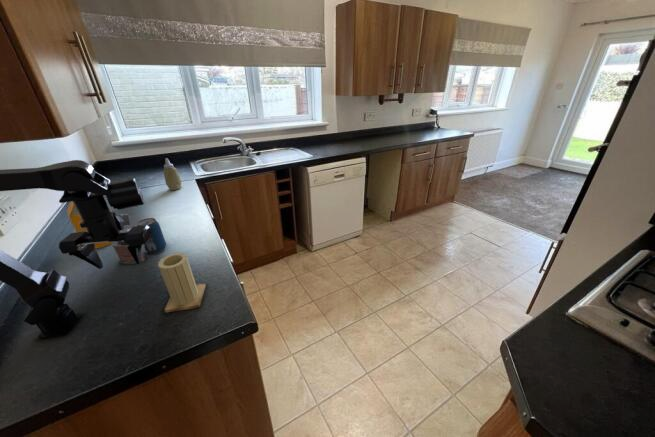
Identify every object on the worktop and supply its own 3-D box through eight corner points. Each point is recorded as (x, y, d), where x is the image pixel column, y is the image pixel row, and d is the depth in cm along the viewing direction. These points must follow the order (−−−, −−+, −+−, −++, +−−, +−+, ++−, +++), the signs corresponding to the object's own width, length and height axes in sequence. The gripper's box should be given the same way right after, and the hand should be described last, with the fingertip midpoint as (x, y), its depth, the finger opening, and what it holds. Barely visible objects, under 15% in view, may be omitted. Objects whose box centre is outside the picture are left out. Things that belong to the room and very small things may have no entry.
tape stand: (165, 312, 74) (159, 299, 72) (175, 290, 82) (170, 277, 80) (199, 307, 76) (195, 294, 73) (206, 285, 83) (202, 273, 81)
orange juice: (107, 235, 112) (86, 190, 102) (111, 243, 106) (89, 197, 97) (84, 243, 107) (59, 196, 98) (86, 251, 101) (60, 203, 92)
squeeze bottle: (182, 189, 156) (173, 159, 148) (167, 192, 154) (157, 161, 145) (183, 185, 163) (175, 155, 154) (168, 187, 160) (159, 157, 152)
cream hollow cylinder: (167, 303, 76) (152, 266, 70) (183, 287, 82) (170, 251, 76) (188, 306, 75) (174, 269, 69) (202, 289, 81) (191, 254, 74)
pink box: (146, 257, 97) (137, 234, 93) (141, 263, 94) (131, 239, 90) (124, 258, 97) (113, 234, 92) (118, 264, 94) (106, 240, 90)
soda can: (163, 242, 106) (154, 215, 101) (169, 249, 102) (160, 221, 96) (144, 249, 102) (132, 222, 96) (149, 257, 98) (138, 228, 92)
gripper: (150, 197, 73) (167, 244, 81) (73, 203, 70) (98, 252, 78) (132, 215, 64) (154, 267, 71) (42, 224, 61) (74, 277, 68)
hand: (120, 265), depth 72 cm, fingers open, 9 cm apart
